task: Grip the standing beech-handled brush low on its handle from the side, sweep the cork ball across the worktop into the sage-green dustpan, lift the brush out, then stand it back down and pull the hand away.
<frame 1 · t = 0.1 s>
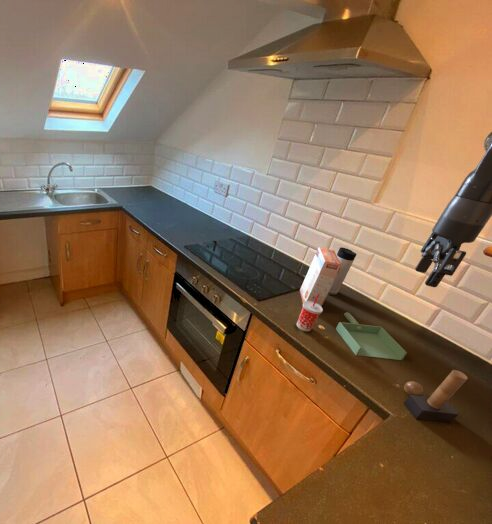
hand: (424, 278, 76), 32 cm above the countertop, tool pointing down, fingers open, 8 cm apart
dustpan: (367, 344, 100), on the countertop
beverage cup: (303, 327, 105), on the countertop
brush: (426, 412, 78), on the countertop
travel mug: (328, 291, 129), on the countertop
cork ball: (413, 389, 82), point 2 cm above the countertop
cracker box: (308, 301, 120), on the countertop
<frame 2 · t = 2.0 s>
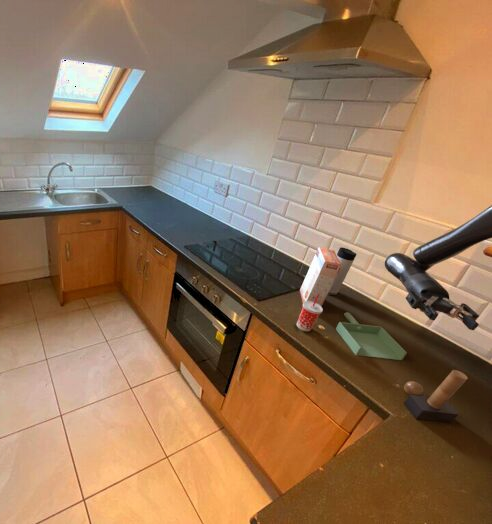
hand: (454, 322, 77), 22 cm above the countertop, tool horizontal, fingers open, 8 cm apart
nothing on the countertop moved.
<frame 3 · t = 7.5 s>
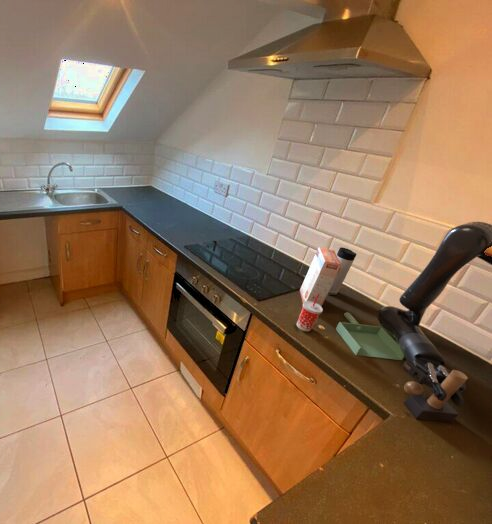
hand: (451, 400, 72), 9 cm above the countertop, tool horizontal, fingers closed on brush, 3 cm apart
brush: (426, 412, 78), on the countertop, touching gripper
everything else where it was.
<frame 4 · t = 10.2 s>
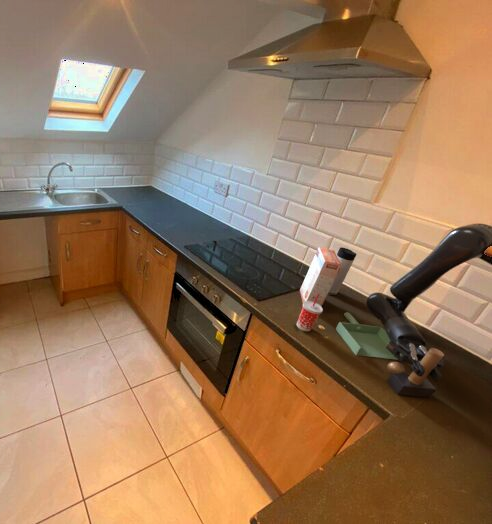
hand: (429, 376, 77), 9 cm above the countertop, tool horizontal, fingers closed on brush, 3 cm apart
brush: (407, 389, 84), on the countertop, touching gripper
cork ball: (395, 368, 88), point 2 cm above the countertop, tilted 156°
everything else where it was.
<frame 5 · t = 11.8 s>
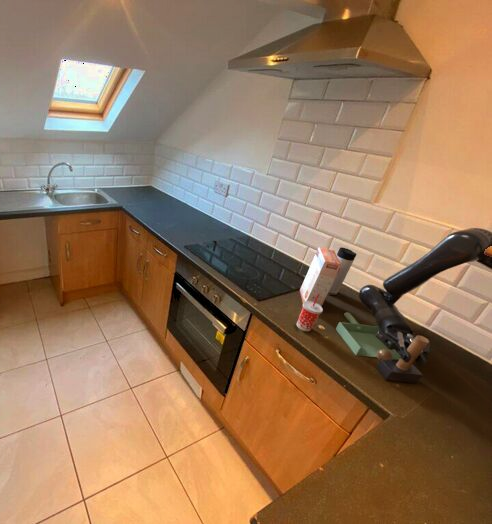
hand: (415, 361, 82), 9 cm above the countertop, tool horizontal, fingers closed on brush, 3 cm apart
brush: (395, 375, 88), on the countertop, touching gripper
cork ball: (384, 356, 93), point 2 cm above the countertop, tilted 11°
everything else where it was.
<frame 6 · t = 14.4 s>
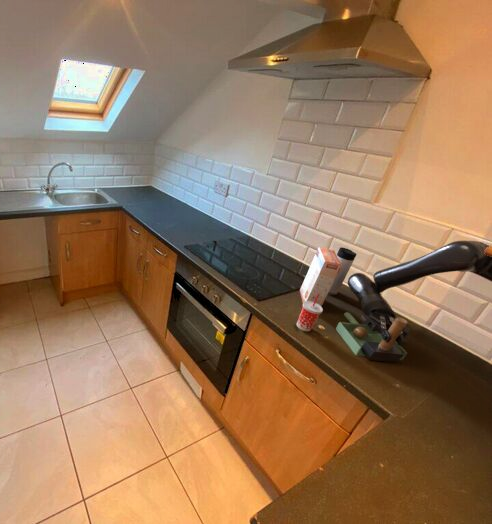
hand: (395, 341, 88), 9 cm above the countertop, tool horizontal, fingers closed on brush, 3 cm apart
brush: (378, 355, 95), point 1 cm above the countertop, touching gripper
cork ball: (360, 332, 102), point 2 cm above the countertop, tilted 84°, touching dustpan
everything else where it was.
when the fingers open (9 cm above the countertop, at t = 21.7 s): brush stays where it is, on the countertop.
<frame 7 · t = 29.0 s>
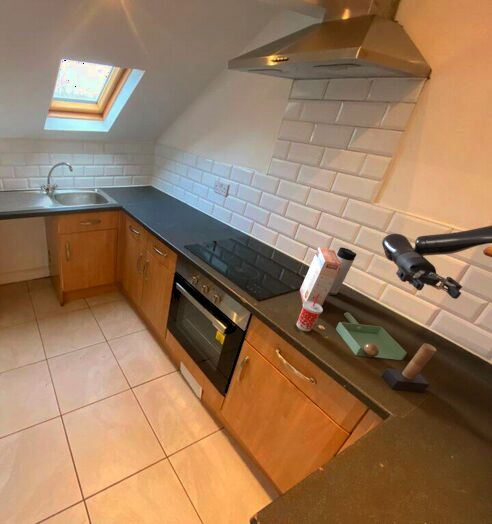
hand: (439, 291, 84), 25 cm above the countertop, tool horizontal, fingers open, 8 cm apart
brush: (401, 384, 86), on the countertop
cork ball: (371, 350, 94), point 2 cm above the countertop, tilted 45°, touching dustpan
everything else where it was.
at the end: cork ball inside the target area in the dustpan (6.1 cm from its centre), point 2.2 cm above the dustpan's base; brush tilted 0°; brush moved 9.0 cm from its start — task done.
